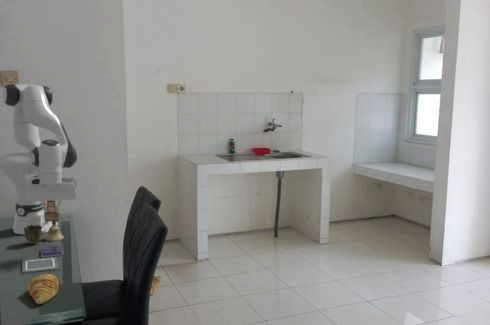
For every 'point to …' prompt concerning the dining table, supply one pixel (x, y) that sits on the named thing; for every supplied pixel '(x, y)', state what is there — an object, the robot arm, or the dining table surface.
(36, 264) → the board
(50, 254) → the ink pad
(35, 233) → the cup
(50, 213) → the stamp
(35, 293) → the croissant
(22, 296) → the dining table surface
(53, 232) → the hand bell
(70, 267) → the dining table surface
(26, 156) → the robot arm
